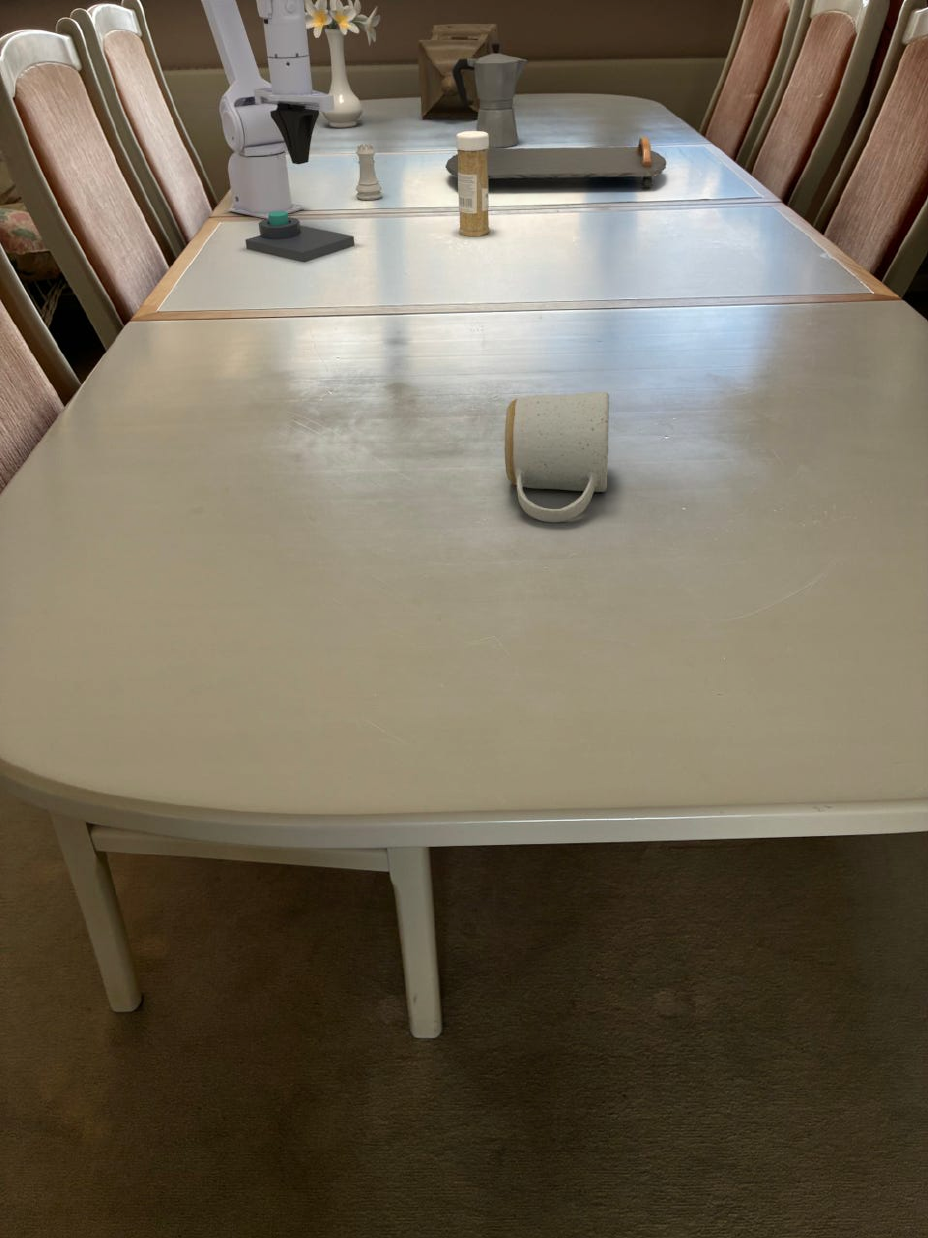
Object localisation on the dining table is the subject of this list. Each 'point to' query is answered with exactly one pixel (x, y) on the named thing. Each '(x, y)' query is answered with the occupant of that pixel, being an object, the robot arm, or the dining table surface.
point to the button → (278, 218)
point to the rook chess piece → (367, 174)
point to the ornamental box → (451, 68)
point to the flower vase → (340, 52)
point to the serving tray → (573, 162)
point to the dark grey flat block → (297, 241)
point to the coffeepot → (493, 94)
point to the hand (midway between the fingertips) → (300, 162)
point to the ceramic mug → (558, 448)
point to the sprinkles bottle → (473, 182)
